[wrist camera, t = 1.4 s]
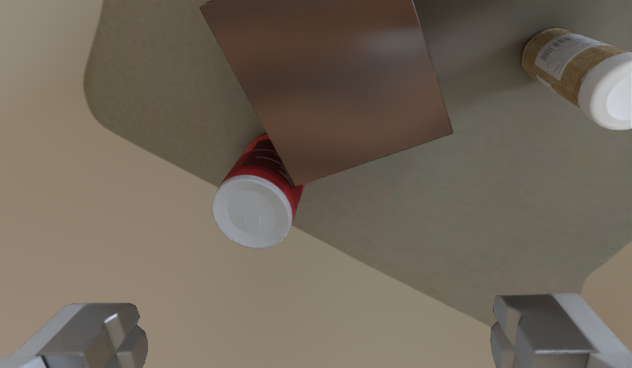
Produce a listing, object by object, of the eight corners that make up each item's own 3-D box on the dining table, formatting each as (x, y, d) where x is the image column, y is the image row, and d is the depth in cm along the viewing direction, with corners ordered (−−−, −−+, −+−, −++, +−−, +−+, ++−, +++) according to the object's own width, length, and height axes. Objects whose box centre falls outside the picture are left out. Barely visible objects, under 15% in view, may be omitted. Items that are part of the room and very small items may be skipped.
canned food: (258, 195, 47) (228, 253, 37) (236, 137, 43) (197, 185, 34) (317, 186, 45) (301, 245, 35) (299, 125, 41) (276, 172, 32)
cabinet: (244, -4, 35) (198, 7, 26) (381, -79, 31) (383, -98, 22) (313, 138, 42) (295, 186, 33) (435, 92, 37) (453, 133, 28)
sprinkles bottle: (528, 86, 36) (600, 144, 24) (513, 43, 34) (583, 82, 23) (581, 62, 34) (685, 111, 23) (568, 15, 32) (673, 43, 21)
